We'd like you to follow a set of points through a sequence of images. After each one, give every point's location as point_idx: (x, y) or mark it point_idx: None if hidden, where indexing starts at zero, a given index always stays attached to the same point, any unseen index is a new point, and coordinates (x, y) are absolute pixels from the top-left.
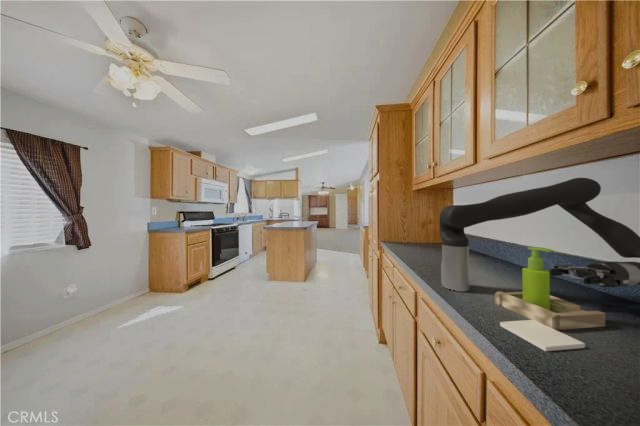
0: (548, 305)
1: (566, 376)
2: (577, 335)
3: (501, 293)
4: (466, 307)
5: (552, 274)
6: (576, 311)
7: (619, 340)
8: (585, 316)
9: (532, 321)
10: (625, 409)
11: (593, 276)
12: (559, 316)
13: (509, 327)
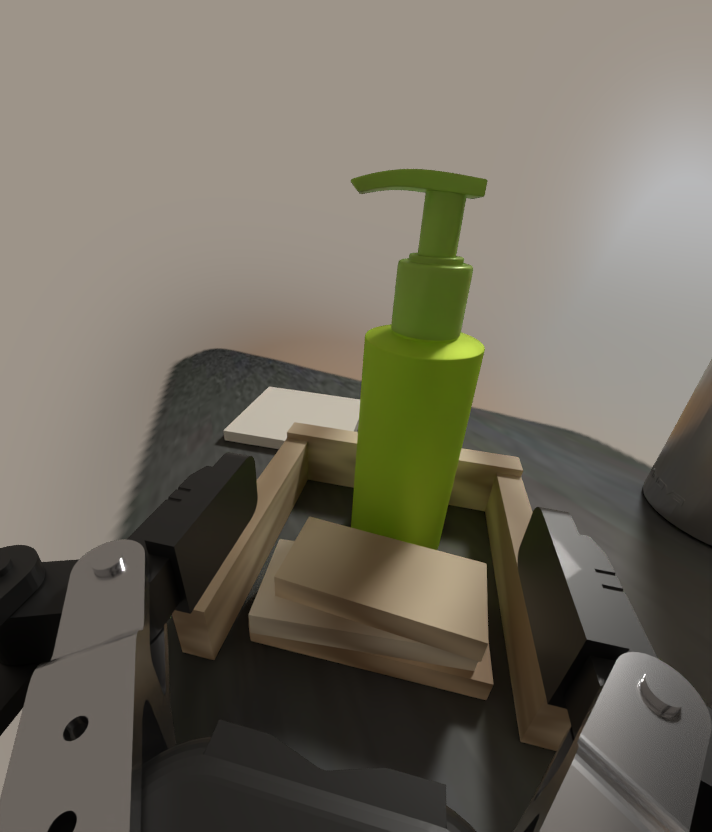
0: (354, 487)
1: (232, 373)
2: None
3: (494, 454)
4: (474, 424)
5: (519, 549)
6: (281, 563)
7: None
8: None
9: None
10: (177, 368)
11: (187, 495)
12: (287, 437)
13: (342, 398)
